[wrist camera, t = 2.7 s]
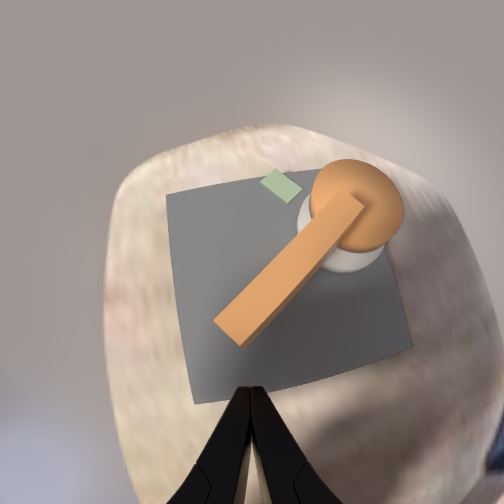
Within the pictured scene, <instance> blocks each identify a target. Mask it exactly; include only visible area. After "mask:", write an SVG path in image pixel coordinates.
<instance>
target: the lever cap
mask: <svg viewBox="0 0 504 504" xmlns="http://www.w3.org/2000/svg"><path fill="white" fill-rule="evenodd" d="M309 213H310V217H311V219H312V220H311V221H310V222H309V223H308V224H307V225H306V226H305V227H304V228H303V229H302V230H301V231H300V232H299V233H298V234H297V236H296V237H295V238H294V239H293V240H292V241H291V242H290V243H289V244H288V245H287V246H286V247H285V248H284V249H283V250H282V251H281V252H280V253H279V254H278V255H277V256H276V257H275V258H274V259H273V260H272V261H271V262H270V263H269V264H268V265H267V267H266V268H265V269H264V270H263V271H262V272H261V273H260V274H259V275H258V276H257V277H256V278H255V279H254V280H253V281H252V282H251V283H250V284H249V285H248V286H247V287H246V288H245V289H244V290H243V291H242V292H241V293H240V294H239V295H238V296H237V297H236V298H235V299H234V300H233V301H232V302H231V303H230V304H229V305H228V306H227V307H226V308H225V309H224V310H223V311H222V312H221V313H220V314H219V315H218V316H217V317H216V318H215V319H214V320H213V321H214V322H215V323H216V324H217V325H218V326H219V327H220V328H221V329H222V330H223V331H224V332H225V333H226V334H227V335H228V336H230V337H231V338H232V339H233V340H234V341H235V342H236V343H237V344H238V345H239V346H240V347H241V348H243V349H245V348H246V347H247V346H248V345H249V344H250V343H251V342H252V341H253V340H254V339H255V338H256V337H257V336H258V335H259V334H260V333H261V332H262V331H263V330H264V329H265V328H266V327H267V326H268V325H269V324H270V322H271V321H272V320H273V319H274V318H275V317H276V316H277V315H278V314H279V313H280V312H281V311H282V310H283V309H284V307H285V306H286V305H287V304H288V303H289V302H290V301H291V300H292V299H293V298H294V296H295V295H296V294H297V293H298V292H299V291H300V290H301V289H302V288H303V286H304V285H305V284H306V283H307V282H308V281H309V280H310V279H311V277H312V276H313V275H314V274H315V273H316V272H317V271H318V269H319V268H320V267H321V266H322V265H323V264H324V262H325V261H326V260H327V259H328V258H329V257H330V255H331V254H332V253H333V252H334V250H335V249H336V247H337V248H339V249H341V250H344V251H347V252H351V253H368V252H372V251H375V250H377V249H378V248H380V247H381V246H383V245H384V244H385V243H386V242H387V241H388V240H389V239H390V238H391V237H392V236H393V235H394V234H395V233H396V232H397V230H398V229H399V227H400V225H401V223H402V220H403V203H402V199H401V196H400V194H399V192H398V190H397V188H396V186H395V185H394V184H393V182H392V181H391V180H390V179H389V178H388V177H387V176H386V175H385V174H384V173H383V172H382V171H380V170H379V169H377V168H376V167H374V166H372V165H370V164H368V163H365V162H362V161H358V160H352V159H344V160H338V161H334V162H332V163H330V164H328V165H326V166H325V167H324V168H322V170H321V171H320V172H319V173H318V175H317V177H316V179H315V182H314V185H313V188H312V191H311V194H310V198H309Z"/></svg>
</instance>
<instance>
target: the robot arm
mask: <svg viewBox="0 0 504 504" xmlns="http://www.w3.org/2000/svg"><path fill="white" fill-rule="evenodd" d="M251 430H252V432H251ZM251 444H252V445H253V451H254V457H255V462H256V468H257V473H258V478H259V483H260V489H261V494H262V499H263V504H343V503H342V502H341V501H340V500H339V499H338V498H337V497H336V496H335V495H334V494H333V493H332V492H331V490H330V489H329V488H328V487H327V486H326V485H325V484H324V482H323V481H322V480H321V478H320V477H319V476H318V474H317V473H316V472H315V470H314V469H313V467H312V466H311V464H310V463H309V462H308V461H307V458H306V457H305V455H304V453H303V452H302V450H301V449H300V447H299V446H298V444H297V442H296V441H295V439H294V438H293V436H292V434H291V433H290V431H289V429H288V428H287V426H286V424H285V423H284V421H283V420H282V418H281V416H280V415H279V413H278V411H277V409H276V408H275V406H274V404H273V403H272V401H271V399H270V398H269V396H268V394H267V392H266V391H265V389H264V387H263V386H251V387H249V386H238V387H237V388H236V390H235V392H234V394H233V396H232V398H231V400H230V402H229V403H228V405H227V407H226V409H225V411H224V413H223V415H222V416H221V418H220V420H219V422H218V424H217V426H216V427H215V429H214V431H213V433H212V435H211V437H210V438H209V440H208V442H207V444H206V445H205V447H204V449H203V451H202V452H201V454H200V456H199V458H198V459H197V461H196V464H194V466H193V468H192V469H191V471H190V473H189V474H188V476H187V477H186V479H185V481H184V482H183V484H182V485H181V486H180V487H179V489H178V490H177V491H176V493H175V494H174V495H173V496H172V497H171V499H170V500H169V501H168V502H167V503H166V504H244V502H245V494H246V486H247V478H248V470H249V462H250V454H251Z"/></svg>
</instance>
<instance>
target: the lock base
mask: <svg viewBox="0 0 504 504" xmlns="http://www.w3.org/2000/svg"><path fill="white" fill-rule="evenodd" d="M321 170H322V169H315V170H306V171H298V172H291V173H284V174H282V173H281V172H280V171H278V170H277V169H274V170H273V171H272V172H271V173H270V174H268V175H267V176H263V177H257V178H251V179H245V180H239V181H233V182H227V183H222V184H216V185H211V186H206V187H201V188H196V189H191V190H186V191H181V192H177V193H172V194H168V195H166V204H167V219H168V232H169V244H170V254H171V264H172V273H173V281H174V290H175V297H176V305H177V312H178V319H179V325H180V332H181V338H182V344H183V349H184V355H185V361H186V366H187V371H188V376H189V381H190V386H191V391H192V396H193V400H194V404H202V403H210V402H217V401H224V400H230V399H231V398H232V396H233V394H234V392H235V390H236V388H237V387H238V386H249V387H251V386H263V387H264V389H265V391H266V392H267V393H268V392H273V391H277V390H282V389H286V388H290V387H294V386H298V385H302V384H306V383H310V382H313V381H317V380H321V379H324V378H328V377H331V376H334V375H337V374H341V373H344V372H347V371H350V370H353V369H356V368H359V367H362V366H365V365H368V364H370V363H373V362H376V361H379V360H381V359H384V358H387V357H389V356H392V355H394V354H397V353H399V352H402V351H404V350H407V349H409V348H411V347H413V343H412V339H411V335H410V331H409V327H408V323H407V319H406V315H405V311H404V308H403V304H402V301H401V297H400V294H399V290H398V287H397V284H396V281H395V277H394V274H393V271H392V268H391V265H390V262H389V259H388V256H387V254H386V251H385V248H384V246H385V244H384V245H383V246H381V247H380V248H378V249H377V250H375V251H372V252H368V253H351V252H347V251H344V250H341V249H339V248H337V247H336V249H335V250H334V252H333V253H332V254H331V255H330V257H329V258H328V259H327V260H326V261H325V262H324V264H323V265H322V266H321V267H320V268H319V269H318V271H317V272H316V273H315V274H314V275H313V276H312V277H311V279H310V280H309V281H308V282H307V283H306V284H305V285H304V286H303V288H302V289H301V290H300V291H299V292H298V293H297V294H296V295H295V296H294V298H293V299H292V300H291V301H290V302H289V303H288V304H287V305H286V306H285V307H284V309H283V310H282V311H281V312H280V313H279V314H278V315H277V316H276V317H275V318H274V319H273V320H272V321H271V322H270V324H269V325H268V326H267V327H266V328H265V329H264V330H263V331H262V332H261V333H260V334H259V335H258V336H257V337H256V338H255V339H254V340H253V341H252V342H251V343H250V344H249V345H248V346H247V347H246V348H245V349H243V348H241V347H240V346H239V345H238V344H237V343H236V342H235V341H234V340H233V339H232V338H231V337H230V336H228V335H227V334H226V333H225V332H224V331H223V330H222V329H221V328H220V327H219V326H218V325H217V324H216V323H215V322H214V321H213V320H214V319H215V318H216V317H217V316H218V315H219V314H220V313H221V312H222V311H223V310H224V309H225V308H226V307H227V306H228V305H229V304H230V303H231V302H232V301H233V300H234V299H235V298H236V297H237V296H238V295H239V294H240V293H241V292H242V291H243V290H244V289H245V288H246V287H247V286H248V285H249V284H250V283H251V282H252V281H253V280H254V279H255V278H256V277H257V276H258V275H259V274H260V273H261V272H262V271H263V270H264V269H265V268H266V267H267V265H268V264H269V263H270V262H271V261H272V260H273V259H274V258H275V257H276V256H277V255H278V254H279V253H280V252H281V251H282V250H283V249H284V248H285V247H286V246H287V245H288V244H289V243H290V242H291V241H292V240H293V239H294V238H295V237H296V236H297V234H298V233H299V232H300V231H301V230H302V229H303V228H304V227H305V226H306V225H307V224H308V223H309V222H310V221H311V220H312V219H311V217H310V213H309V198H310V194H311V191H312V188H313V185H314V182H315V179H316V177H317V175H318V173H319V172H320V171H321Z"/></svg>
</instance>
